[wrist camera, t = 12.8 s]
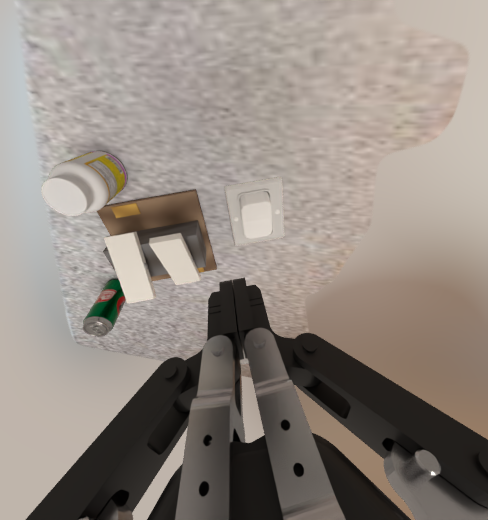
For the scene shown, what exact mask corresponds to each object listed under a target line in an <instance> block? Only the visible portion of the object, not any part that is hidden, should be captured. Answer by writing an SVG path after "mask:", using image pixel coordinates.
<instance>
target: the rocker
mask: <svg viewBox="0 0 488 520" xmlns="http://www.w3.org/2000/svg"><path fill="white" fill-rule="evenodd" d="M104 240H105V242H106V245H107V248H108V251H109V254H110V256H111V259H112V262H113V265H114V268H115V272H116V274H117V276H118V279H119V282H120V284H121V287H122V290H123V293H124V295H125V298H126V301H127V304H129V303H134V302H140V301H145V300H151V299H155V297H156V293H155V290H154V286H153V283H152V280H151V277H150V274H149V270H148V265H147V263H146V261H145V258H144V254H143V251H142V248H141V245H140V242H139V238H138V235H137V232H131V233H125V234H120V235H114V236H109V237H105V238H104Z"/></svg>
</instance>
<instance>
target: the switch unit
mask: <svg viewBox="0 0 488 520" xmlns="http://www.w3.org/2000/svg"><path fill="white" fill-rule="evenodd" d="M97 212H98V214H99V216H100V218H101V219H102V221H103V223H104V225H105V226H106V228H107V230H108V232H109V233H110V235H111V236H114V235H120V234H125V233H131V232H137V235H138V238H139V242H140V245H141V248H142V251H143V254H144V258H145V261H146V263H147V265H148V270H149V274H150V277H151V280H152V281H156V280H161V279H167V278H171V276H170V275H169V273H168V272H167V270H166V269H165V268H164V267H163V264H162V263H161V261H160V260H159V258H158V257H157V256H156V254H155V253H154V251H153V250H152V248H151V247H150V245H149V240H150V238H155V237H160V236H166V235H172V234H177V233H181V235H182V237H183V239H184V241H185V243H186V245H187V247H188V250H189V252H190V254H191V256H192V257H193V260H194V262H195V265H196V267H197V269H198V271H199V273H200V272H205V271H210V270H216V269H217V266H216V263H215V259H214V255H213V252H212V248H211V244H210V240H209V237H208V233H207V229H206V226H205V222H204V218H203V214H202V211H201V207H200V203H199V199H198V196H197V192H196V190H190V191H185V192H179V193H173V194H168V195H162V196H156V197H151V198H145V199H139V200H134V201H128V202H122V203H117V204H111V205H105V206H104V207H103V208H101V209H100V210H98V211H97ZM103 252H104V254H105V255H106V257H107V259H108V260H109V262H110V263H111V265H112V267H113V268H114V265H113V262H112V259H111V256H110V254H109V251H108V248H107V247H106V248H105V250H104V251H103ZM114 270H115V268H114Z"/></svg>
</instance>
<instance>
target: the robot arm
mask: <svg viewBox="0 0 488 520" xmlns="http://www.w3.org/2000/svg"><path fill="white" fill-rule="evenodd" d="M243 350H244V353H243ZM244 354H245V358H246V359H247V358H248V361H249V366H250V370H251V375H252V379H253V384H254V388H255V393H256V398H257V401H258V407H259V411H260V415H261V420H262V424H263V429H264V434H265V435H264V436H262V437H261V438H259V439H257V440H255V441H253V442H252V443H245V431H244V424H243V412H242V381H241V365H240V360H242V359H244ZM294 385H296V386H297V387H298V388H299V389H300V390H301V391H303V392H304V393H305V394H306V395H307V396H309V397H310V398H311V399H312V400H313V401H315V402H316V403H317V404H318V405H320V406H321V407H322V408H323V409H325V410H326V411H327V412H328V413H329V414H330V415H332V416H333V417H334V418H335V419H337V420H338V421H339V422H340V423H341V424H342V425H344V426H345V427H346V428H347V429H348V430H350V431H351V432H352V433H354V435H356V436H357V437H358V438H359V439H361V440H362V441H363V442H364V443H365V444H367V445H368V446H369V447H370V448H371V449H373V450H374V451H375V452H376V453H377V454H379V455H380V456H381V457H382V458H384V469H385V473H386V477H387V479H388V481H389V483H390V485H391V486H392V488H393V489H394V490H395V492H396V493H397V494H398V495H399V496H400V497H401V498H402V499H403V500H404V502H405V503H406V504H407V505H408V507H409V509H410V510H411V512H412V514H413V516H414V518H415V520H488V440H487V439H486V438H484V437H482V436H481V435H479V434H477V433H476V432H474V431H473V430H471V429H469V428H468V427H466V426H464V425H463V424H461V423H459V422H458V421H456V420H454V419H453V418H451V417H450V416H448V415H446V414H444V413H443V412H441V411H440V410H438V409H437V408H435V407H433V406H431V405H429V404H428V403H426V402H425V401H423V400H422V399H420V398H418V397H417V396H415V395H414V394H412V393H410V392H409V391H407V390H405V389H404V388H402V387H400V386H399V385H397V384H396V383H394V382H392V381H391V380H389V379H387V378H386V377H384V376H382V375H381V374H379V373H378V372H376V371H374V370H373V369H371V368H369V367H368V366H366V365H364V364H363V363H361V362H360V361H358V360H356V359H355V358H353V357H351V356H350V355H348V354H346V353H345V352H343V351H342V350H340V349H338V348H337V347H335V346H333V345H331V344H330V343H328V342H327V341H325V340H324V339H322V338H320V337H318V336H317V335H315V334H311V333H304V334H301V335H299V336H297V337H296V338H295V339H292V338H284V337H281V336H278V335H277V334H275V333H274V332H273V331H272V329H271V328H270V324H269V321H268V317H267V313H266V309H265V306H264V302H263V298H262V294H261V290H260V289H259V288H258V287H257V286H256V285H251V286H246V281H245V278H240V279H235V280H233V282H232V280H229V281H224V282H220V291H219V292H213V293H212V294H211V296H210V298H209V300H208V338H207V342H206V343H205V345H204V347H203V349H202V350H201V351H200V352H199V353H198V354H196V355H194V356H192V357H190V358H189V359H187V360H185V361H184V360H183V359H181V358H178V357H174V358H170V359H168V360H166V361H165V362H163V363H162V364H161V365H160V366H159V367H158V369H157V370H156V371H155V372H154V373H153V374H152V376H151V377H150V378H149V379H148V380H147V381H146V382H145V383H144V385H143V386H142V387H141V388H140V389H139V390H138V392H137V393H136V394H135V395H134V396H133V397H132V398H131V400H130V401H129V402H128V403H127V404H126V406H124V408H123V409H122V410H121V411H120V412H119V413H118V415H117V416H116V417H115V418H114V419H113V420H112V421H111V422H110V424H109V425H108V426H107V427H106V428H105V429H104V431H103V432H102V433H101V434H100V435H99V436H98V437H97V439H96V440H95V441H94V442H93V443H92V444H91V445H90V446H89V448H88V449H87V450H86V451H85V452H84V453H83V455H82V456H81V457H80V458H79V459H78V460H77V461H76V463H75V464H74V465H73V466H72V467H71V468H70V469H69V471H68V472H67V473H66V474H65V475H64V476H63V477H62V479H61V480H60V481H59V482H58V483H57V484H56V485H55V487H54V488H53V489H52V490H51V491H50V492H49V493H48V495H47V496H46V497H45V498H44V499H43V500H42V502H41V503H40V504H39V505H38V506H37V507H36V508H35V510H34V511H33V512H32V513H31V514H30V515H29V516H28V518H27V519H26V520H133V515H132V512H133V510H134V509H135V507H136V506H137V504H138V503H139V501H140V500H141V498H142V496H143V495H144V493H145V492H146V490H147V489H148V487H149V485H150V484H151V482H152V481H153V479H154V478H155V476H156V475H157V473H158V471H159V470H160V468H161V467H162V465H163V464H164V462H165V461H166V459H167V458H168V456H169V454H170V453H171V451H172V450H173V448H174V447H175V445H176V443H177V442H178V441H179V439H180V437H181V436H182V434H183V433H184V431H185V430H186V428H187V426H188V430H187V437H186V444H185V451H184V458H183V464H182V465H181V466H180V467H179V469H178V470H177V471H176V472H175V473H174V475H173V476H172V477H171V479H170V481H169V482H168V484H167V486H166V488H165V489H164V491H163V493H162V494H161V496H160V498H159V500H158V501H157V503H156V505H155V507H154V509H153V510H152V512H151V514H150V516H149V517H148V519H147V520H411V519H410V518H409V517H408V516H406V515H405V513H403V512H402V511H401V510H400V509H399V508H398V507H397V506H396V505H395V504H394V503H393V502H392V501H391V500H390V499H389V498H388V497H387V496H386V495H385V494H384V493H383V492H382V491H381V490H380V489H379V488H377V486H376V485H374V483H373V482H371V481H370V480H369V479H368V478H367V477H366V476H365V475H364V474H363V473H362V472H361V471H360V470H359V469H358V468H357V467H356V466H355V465H354V464H353V463H352V462H351V461H350V460H349V459H348V458H347V457H346V456H345V455H344V454H342V452H340V451H339V450H338V449H337V448H336V447H335V446H334V445H333V444H331V443H330V442H329V441H327V440H326V439H324V438H322V437H321V436H318V435H316V434H313V433H312V432H311V430H310V427H309V424H308V422H307V419H306V416H305V414H304V411H303V408H302V405H301V403H300V400H299V397H298V395H297V392H296V389H295V387H294Z"/></svg>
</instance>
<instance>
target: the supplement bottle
mask: <svg viewBox="0 0 488 520" xmlns="http://www.w3.org/2000/svg"><path fill="white" fill-rule="evenodd" d="M126 182H127V175H126V171H125V169H124V167H123V165H122V164H121V162H120V161H119V160H118V159H117V158H115V157H114V156H112V155H111V154H109V153H106V152H102V151H94V152H90V153H87V154H84V155H82V156H79V157H76V158H74V159H71V160H68V161H65V162H63V163H60V164H58V165H56V166H55V167H54V168H53V169H52V170H51V172H50V174H49V179H48V180H46V181H45V182H44V183H43V185H42V189H41V192H42V196H43V198H44V200H45V201H46V203H47V204H48V205H49V206H50V207H51V208H52V209H54V210H55V211H57V212H59V213H61V214H64V215H68V216H77V215H80V214H82V213H91V212H95V211H98V210H100V209H101V208H103V207H104V206H105V205H106V204H107V203H108V202H109V201H110V200H111V199H112V198H113V197H114V196H116V195H117V194H118V193H119V192H120V191H121V190H122V189H123V188H124V187H125V185H126Z"/></svg>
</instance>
